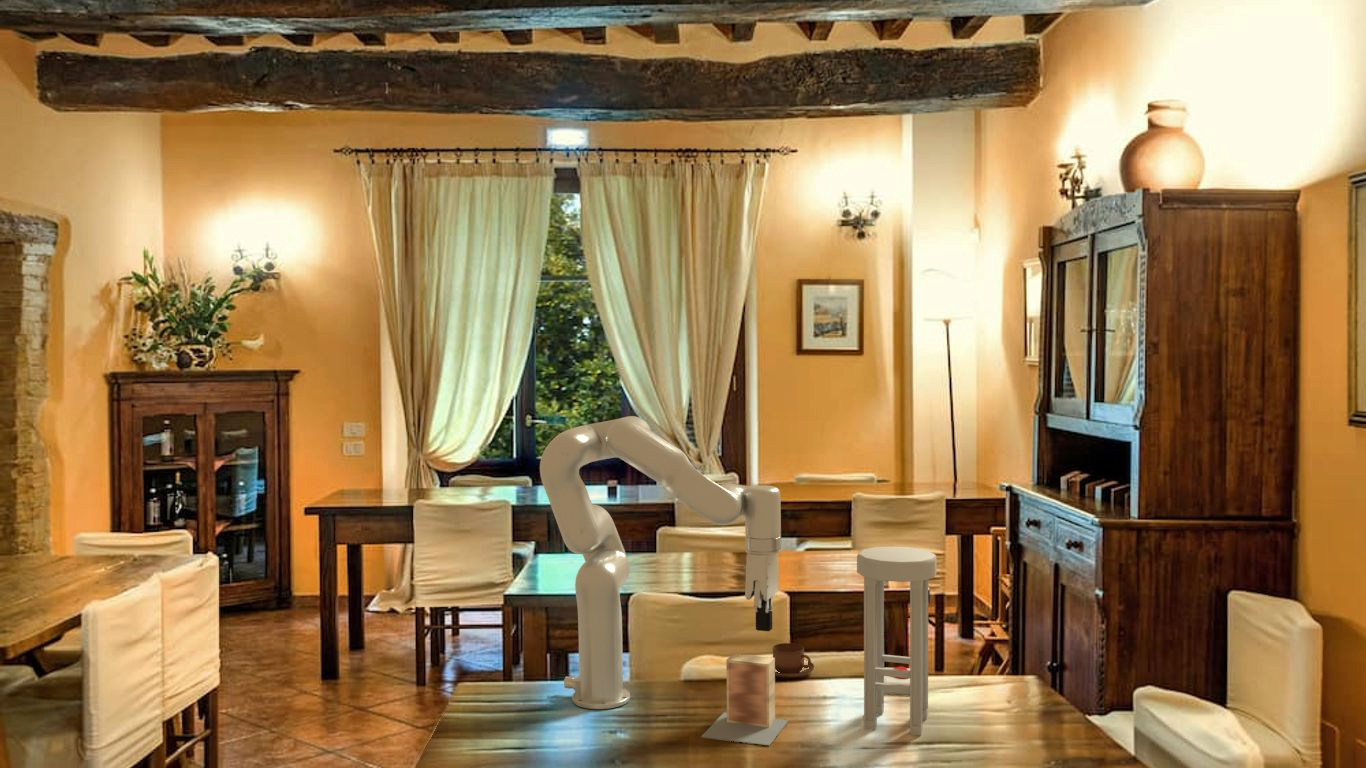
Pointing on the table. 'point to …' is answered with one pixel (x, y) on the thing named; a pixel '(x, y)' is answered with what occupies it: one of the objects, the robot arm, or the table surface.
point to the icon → (897, 681)
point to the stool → (876, 570)
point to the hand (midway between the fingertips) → (764, 629)
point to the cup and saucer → (790, 660)
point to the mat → (744, 731)
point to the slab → (751, 690)
